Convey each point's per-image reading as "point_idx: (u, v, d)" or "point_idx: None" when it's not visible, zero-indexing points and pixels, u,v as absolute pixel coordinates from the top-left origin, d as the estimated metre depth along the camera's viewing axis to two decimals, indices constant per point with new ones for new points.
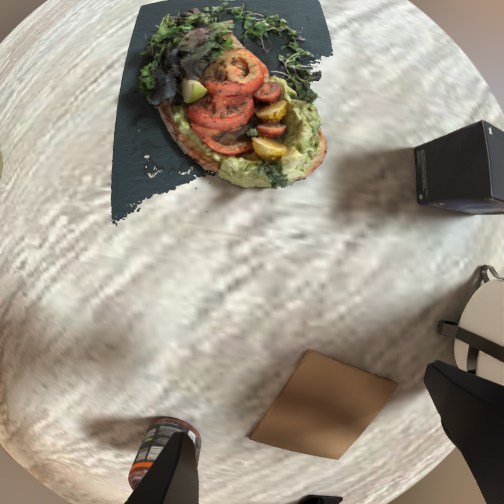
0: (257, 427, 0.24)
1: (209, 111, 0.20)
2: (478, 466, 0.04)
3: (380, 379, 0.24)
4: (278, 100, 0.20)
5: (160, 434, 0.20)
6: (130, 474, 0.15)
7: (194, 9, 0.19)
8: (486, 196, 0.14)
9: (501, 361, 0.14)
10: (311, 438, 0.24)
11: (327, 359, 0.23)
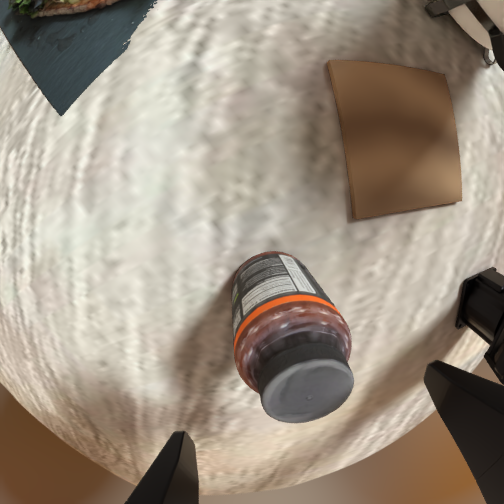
0: (353, 194, 0.18)
1: None
2: (478, 466, 0.04)
3: (423, 70, 0.15)
4: None
5: (245, 279, 0.17)
6: (237, 363, 0.12)
7: None
8: None
9: None
10: (418, 177, 0.18)
11: (353, 61, 0.15)
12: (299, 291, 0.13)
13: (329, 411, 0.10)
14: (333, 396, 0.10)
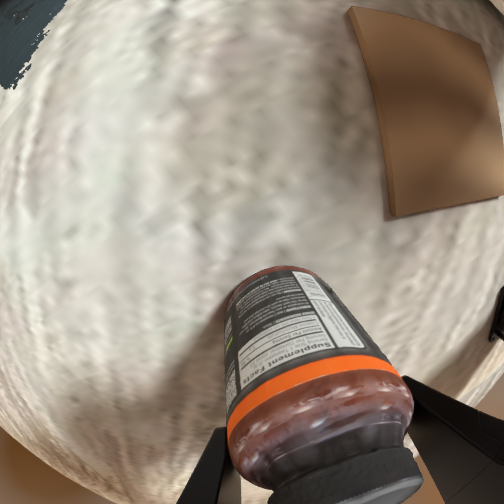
0: (391, 182, 0.12)
1: None
2: (447, 489, 0.04)
3: (458, 35, 0.09)
4: None
5: (243, 314, 0.10)
6: (233, 461, 0.06)
7: None
8: None
9: None
10: (465, 162, 0.12)
11: (381, 12, 0.09)
12: (339, 349, 0.07)
13: None
14: None
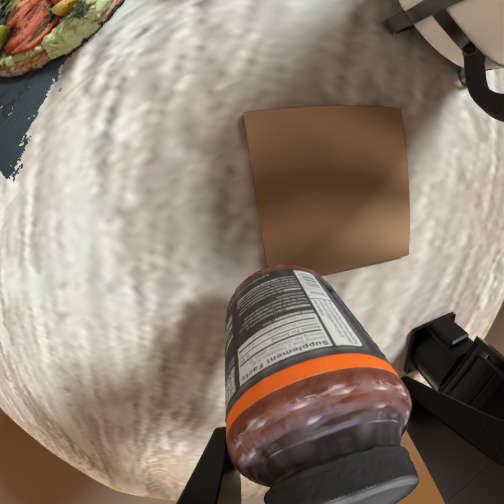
0: (266, 261, 0.19)
1: (17, 33, 0.09)
2: (447, 489, 0.04)
3: (369, 107, 0.16)
4: None
5: (244, 312, 0.11)
6: (231, 457, 0.06)
7: None
8: None
9: None
10: (349, 237, 0.19)
11: (274, 110, 0.16)
12: (336, 347, 0.07)
13: None
14: None
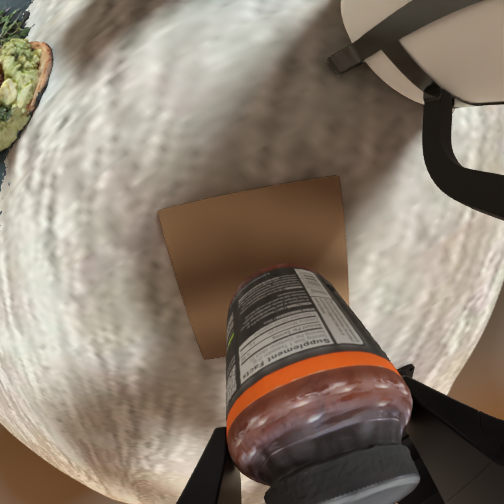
0: None
1: None
2: (447, 489, 0.04)
3: (297, 183, 0.17)
4: None
5: (245, 311, 0.11)
6: (231, 456, 0.06)
7: None
8: None
9: (437, 21, 0.06)
10: None
11: (187, 205, 0.17)
12: (338, 345, 0.07)
13: None
14: None
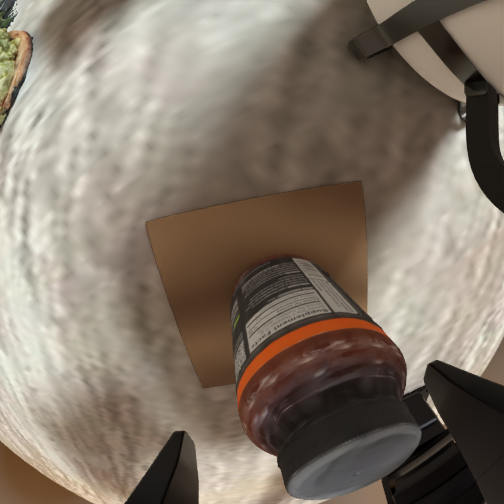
0: None
1: None
2: (478, 467, 0.04)
3: (314, 189, 0.14)
4: None
5: (248, 294, 0.12)
6: (243, 423, 0.07)
7: None
8: None
9: (491, 0, 0.03)
10: None
11: (180, 215, 0.14)
12: (335, 313, 0.08)
13: (380, 478, 0.05)
14: (391, 463, 0.05)
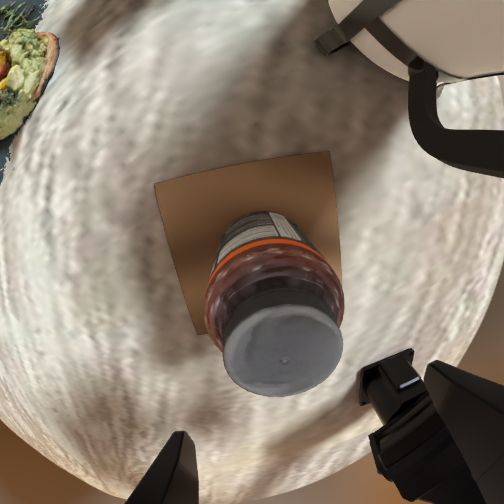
0: (191, 315, 0.20)
1: None
2: (478, 466, 0.04)
3: (288, 157, 0.17)
4: None
5: (228, 234, 0.15)
6: (205, 319, 0.11)
7: None
8: None
9: None
10: None
11: (182, 178, 0.17)
12: (281, 236, 0.11)
13: (312, 384, 0.09)
14: (316, 362, 0.08)
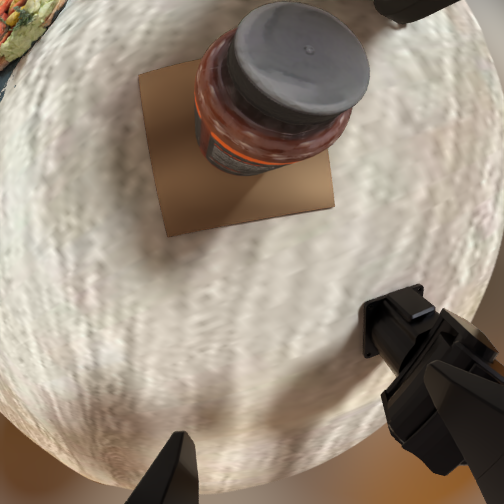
0: None
1: None
2: (478, 466, 0.04)
3: None
4: None
5: None
6: (198, 73, 0.08)
7: None
8: None
9: None
10: (249, 183, 0.18)
11: (165, 68, 0.15)
12: None
13: (345, 98, 0.06)
14: (346, 66, 0.06)
